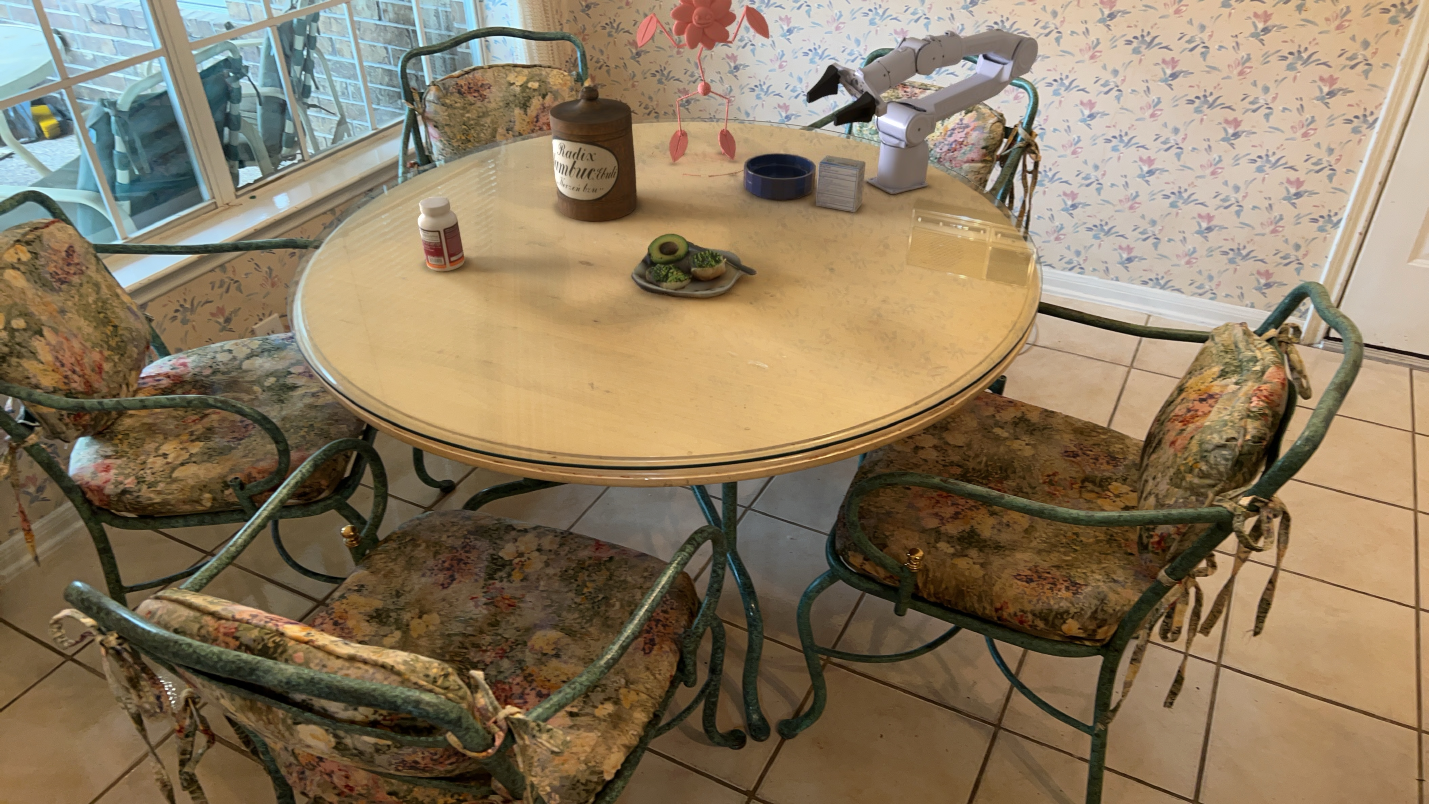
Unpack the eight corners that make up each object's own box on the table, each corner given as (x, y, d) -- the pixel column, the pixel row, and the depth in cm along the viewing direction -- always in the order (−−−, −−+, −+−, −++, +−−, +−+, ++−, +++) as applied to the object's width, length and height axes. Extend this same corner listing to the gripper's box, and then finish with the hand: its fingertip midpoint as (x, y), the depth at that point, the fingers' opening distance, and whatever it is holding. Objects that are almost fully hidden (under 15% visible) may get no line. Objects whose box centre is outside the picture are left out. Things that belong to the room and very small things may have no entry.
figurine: (641, 153, 194) (634, -24, 174) (760, 151, 195) (767, -25, 175) (641, 180, 181) (634, -8, 161) (769, 177, 183) (777, -9, 163)
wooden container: (543, 214, 167) (530, 94, 154) (582, 186, 178) (573, 72, 166) (614, 227, 162) (607, 104, 150) (650, 198, 174) (646, 81, 161)
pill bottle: (460, 253, 153) (450, 191, 147) (469, 268, 149) (458, 205, 143) (423, 260, 151) (411, 197, 145) (430, 275, 147) (418, 212, 140)
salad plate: (768, 261, 152) (769, 235, 149) (739, 310, 138) (740, 283, 135) (660, 245, 157) (660, 220, 154) (621, 292, 143) (620, 265, 140)
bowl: (788, 170, 186) (789, 148, 184) (828, 193, 176) (830, 171, 174) (730, 182, 180) (730, 160, 178) (768, 207, 171) (769, 184, 168)
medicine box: (862, 205, 172) (866, 161, 167) (854, 213, 168) (859, 168, 163) (822, 198, 174) (826, 154, 169) (814, 206, 171) (818, 162, 166)
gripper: (855, 38, 164) (796, 69, 160) (909, 80, 158) (849, 114, 154) (852, 70, 170) (795, 101, 166) (904, 111, 164) (846, 145, 160)
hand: (821, 109), depth 161 cm, fingers open, 7 cm apart
